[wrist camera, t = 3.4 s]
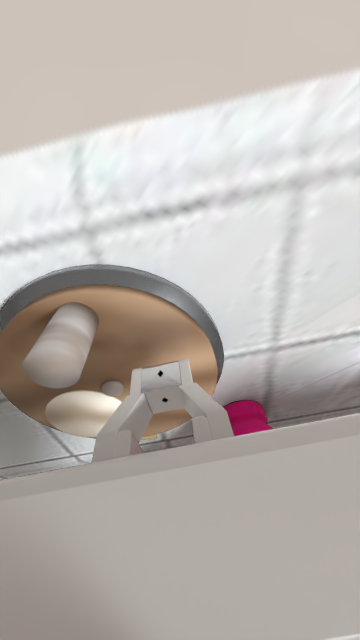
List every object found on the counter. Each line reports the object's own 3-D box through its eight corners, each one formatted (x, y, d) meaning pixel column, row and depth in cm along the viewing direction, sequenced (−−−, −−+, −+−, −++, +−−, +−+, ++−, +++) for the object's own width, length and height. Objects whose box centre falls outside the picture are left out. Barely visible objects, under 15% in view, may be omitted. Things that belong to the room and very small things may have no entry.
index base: (215, 241, 17) (218, 245, 16) (225, 419, 32) (227, 426, 31) (-66, 291, 18) (-77, 297, 17) (73, 443, 32) (71, 450, 32)
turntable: (219, 413, 28) (233, 472, 23) (64, 437, 29) (42, 500, 24) (206, 262, 16) (228, 312, 11) (-57, 308, 17) (-153, 376, 12)
